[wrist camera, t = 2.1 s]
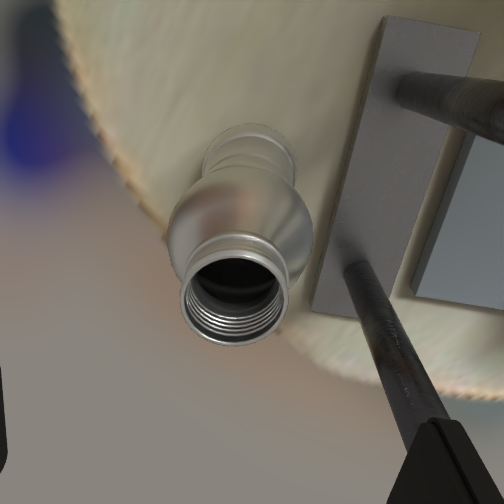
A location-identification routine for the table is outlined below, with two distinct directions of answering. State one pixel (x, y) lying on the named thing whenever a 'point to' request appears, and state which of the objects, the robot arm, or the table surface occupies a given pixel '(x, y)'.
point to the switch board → (468, 231)
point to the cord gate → (399, 192)
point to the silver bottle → (240, 237)
